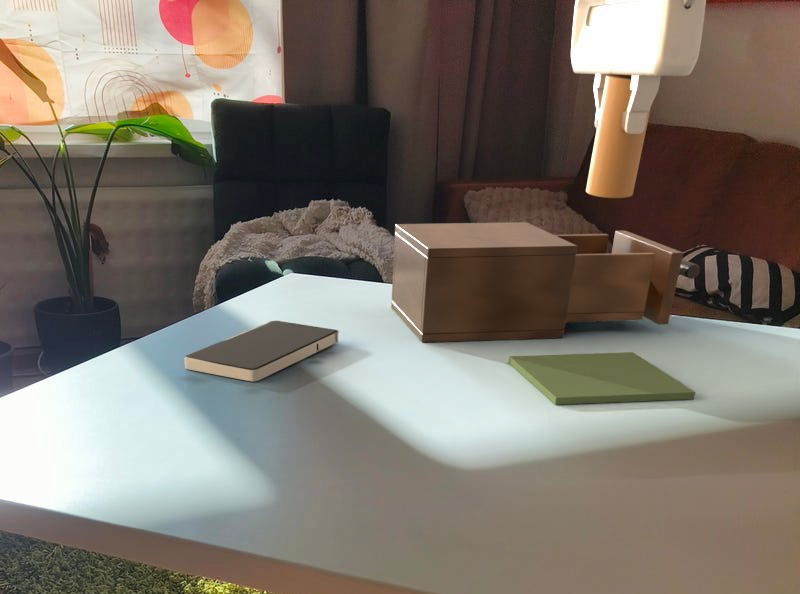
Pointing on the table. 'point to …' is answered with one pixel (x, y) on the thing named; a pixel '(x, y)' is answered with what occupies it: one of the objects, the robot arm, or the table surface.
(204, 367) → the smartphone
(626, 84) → the paper roll
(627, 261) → the drawer
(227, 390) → the table surface
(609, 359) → the mat
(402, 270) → the cabinet
